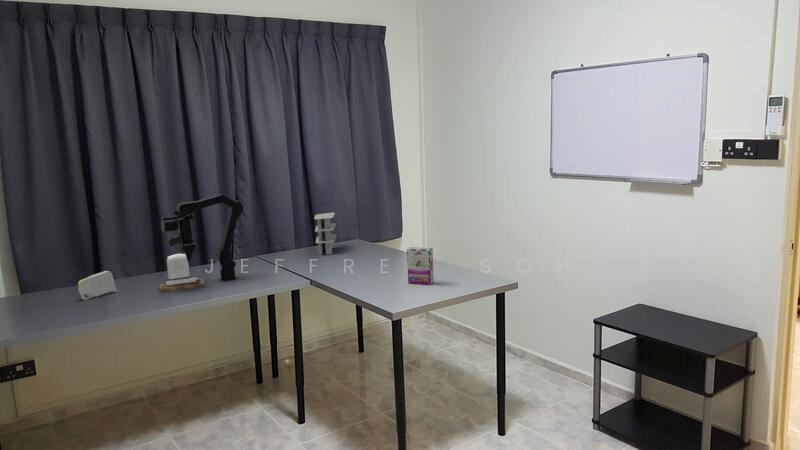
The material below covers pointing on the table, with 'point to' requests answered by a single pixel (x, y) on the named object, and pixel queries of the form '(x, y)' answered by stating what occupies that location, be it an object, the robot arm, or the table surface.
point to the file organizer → (325, 232)
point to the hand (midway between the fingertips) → (188, 261)
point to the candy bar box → (420, 265)
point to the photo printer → (177, 266)
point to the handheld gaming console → (96, 285)
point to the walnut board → (182, 286)
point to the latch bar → (181, 281)
